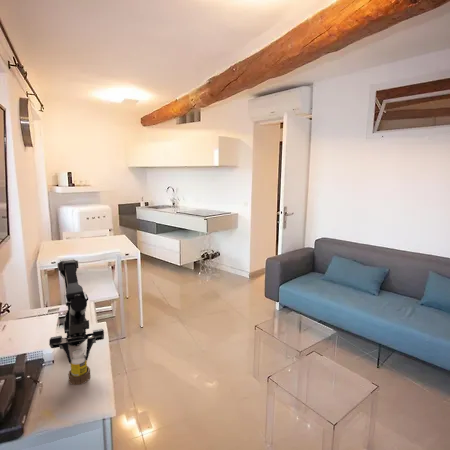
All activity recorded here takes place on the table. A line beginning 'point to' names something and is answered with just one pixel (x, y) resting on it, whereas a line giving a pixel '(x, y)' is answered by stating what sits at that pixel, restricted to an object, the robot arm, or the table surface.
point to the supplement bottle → (78, 363)
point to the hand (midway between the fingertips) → (78, 361)
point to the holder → (79, 378)
